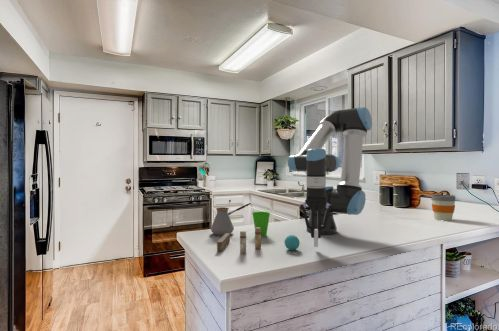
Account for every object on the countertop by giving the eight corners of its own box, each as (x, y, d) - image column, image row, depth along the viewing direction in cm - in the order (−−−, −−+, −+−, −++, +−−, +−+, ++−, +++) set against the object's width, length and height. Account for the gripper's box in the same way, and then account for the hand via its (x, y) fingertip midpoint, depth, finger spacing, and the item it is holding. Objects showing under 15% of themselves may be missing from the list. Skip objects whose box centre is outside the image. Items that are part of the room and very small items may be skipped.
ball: (299, 248, 117) (299, 233, 117) (299, 252, 111) (299, 237, 111) (284, 247, 118) (284, 233, 118) (284, 251, 112) (284, 236, 112)
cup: (248, 236, 136) (248, 213, 135) (257, 232, 144) (256, 210, 143) (265, 238, 131) (265, 215, 131) (273, 234, 139) (273, 212, 139)
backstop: (229, 242, 126) (229, 233, 125) (222, 252, 112) (222, 242, 112) (225, 242, 126) (225, 233, 126) (217, 251, 112) (217, 241, 112)
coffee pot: (213, 238, 133) (213, 206, 133) (208, 232, 144) (208, 203, 144) (255, 234, 140) (255, 204, 139) (248, 229, 150) (248, 201, 150)
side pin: (246, 252, 111) (246, 230, 111) (245, 254, 109) (245, 232, 109) (240, 252, 112) (240, 230, 112) (239, 254, 109) (239, 232, 109)
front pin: (261, 247, 118) (261, 227, 118) (260, 249, 115) (260, 228, 115) (255, 247, 118) (255, 227, 118) (254, 249, 116) (254, 228, 115)
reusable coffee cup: (434, 220, 171) (434, 196, 171) (428, 217, 183) (428, 194, 183) (458, 222, 168) (459, 197, 167) (451, 218, 179) (451, 194, 179)
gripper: (299, 187, 110) (299, 247, 110) (334, 188, 108) (334, 249, 108) (299, 186, 117) (299, 242, 118) (331, 186, 116) (331, 244, 116)
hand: (315, 245), depth 113 cm, fingers closed
